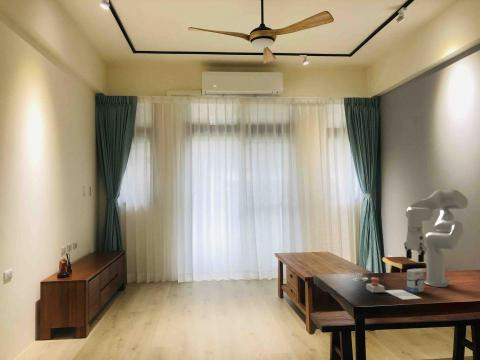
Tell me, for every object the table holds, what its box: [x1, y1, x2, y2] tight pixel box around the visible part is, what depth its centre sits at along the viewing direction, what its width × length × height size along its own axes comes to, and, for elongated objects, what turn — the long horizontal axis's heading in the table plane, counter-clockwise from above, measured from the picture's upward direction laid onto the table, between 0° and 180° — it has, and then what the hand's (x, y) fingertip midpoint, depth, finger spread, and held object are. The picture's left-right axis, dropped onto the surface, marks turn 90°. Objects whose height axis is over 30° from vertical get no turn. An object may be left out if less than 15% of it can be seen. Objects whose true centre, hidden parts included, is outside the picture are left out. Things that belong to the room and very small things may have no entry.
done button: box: [370, 276, 380, 286], centre depth 200 cm, size 4×4×5 cm
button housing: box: [365, 283, 385, 293], centre depth 200 cm, size 7×7×3 cm
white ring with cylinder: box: [352, 273, 369, 282], centre depth 223 cm, size 9×8×4 cm
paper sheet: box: [384, 289, 423, 301], centre depth 192 cm, size 11×16×1 cm
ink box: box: [406, 268, 425, 294], centre depth 200 cm, size 8×5×12 cm, turn 118°
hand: (414, 260), depth 200 cm, fingers open, 9 cm apart
